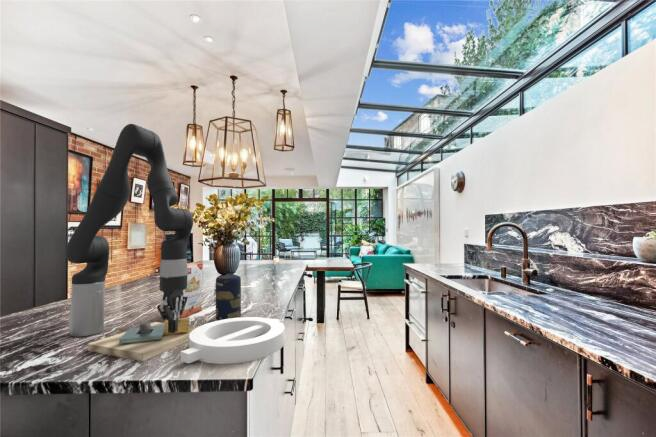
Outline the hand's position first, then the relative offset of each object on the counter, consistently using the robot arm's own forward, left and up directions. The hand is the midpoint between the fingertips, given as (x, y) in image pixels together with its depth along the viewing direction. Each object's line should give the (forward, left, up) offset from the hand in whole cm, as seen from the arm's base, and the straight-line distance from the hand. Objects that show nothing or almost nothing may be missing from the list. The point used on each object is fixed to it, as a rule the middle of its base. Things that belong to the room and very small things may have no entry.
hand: (172, 332), depth 93 cm
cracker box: (-25, +31, -5) cm, 40 cm away
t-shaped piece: (-8, +2, -2) cm, 9 cm away
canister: (-3, +30, -5) cm, 30 cm away
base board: (-10, +1, -5) cm, 11 cm away
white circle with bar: (+17, +9, -5) cm, 20 cm away
